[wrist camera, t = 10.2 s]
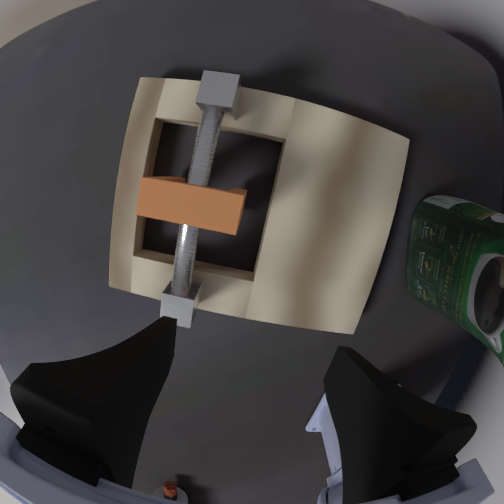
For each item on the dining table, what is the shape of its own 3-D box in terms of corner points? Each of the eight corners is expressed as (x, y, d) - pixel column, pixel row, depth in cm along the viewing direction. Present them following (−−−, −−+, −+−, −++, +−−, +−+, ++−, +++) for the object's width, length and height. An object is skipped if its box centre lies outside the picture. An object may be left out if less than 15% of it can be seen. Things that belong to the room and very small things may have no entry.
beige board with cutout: (397, 141, 18) (409, 139, 16) (345, 322, 23) (353, 334, 21) (149, 85, 17) (140, 77, 15) (119, 277, 21) (108, 286, 19)
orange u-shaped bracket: (247, 190, 19) (244, 195, 13) (241, 217, 19) (235, 235, 14) (173, 176, 19) (141, 177, 13) (169, 203, 19) (135, 214, 13)
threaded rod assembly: (241, 93, 16) (239, 75, 12) (199, 302, 20) (190, 328, 16) (212, 89, 16) (203, 70, 12) (173, 297, 20) (159, 320, 16)
